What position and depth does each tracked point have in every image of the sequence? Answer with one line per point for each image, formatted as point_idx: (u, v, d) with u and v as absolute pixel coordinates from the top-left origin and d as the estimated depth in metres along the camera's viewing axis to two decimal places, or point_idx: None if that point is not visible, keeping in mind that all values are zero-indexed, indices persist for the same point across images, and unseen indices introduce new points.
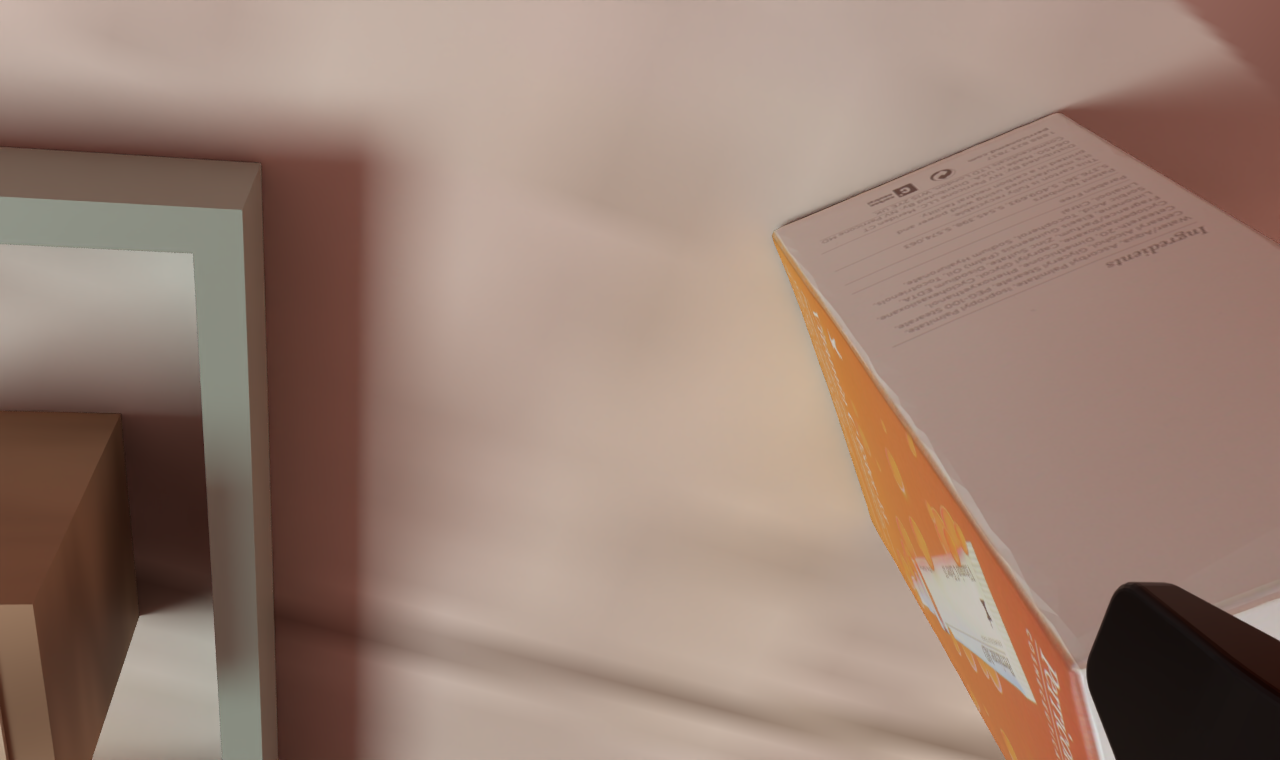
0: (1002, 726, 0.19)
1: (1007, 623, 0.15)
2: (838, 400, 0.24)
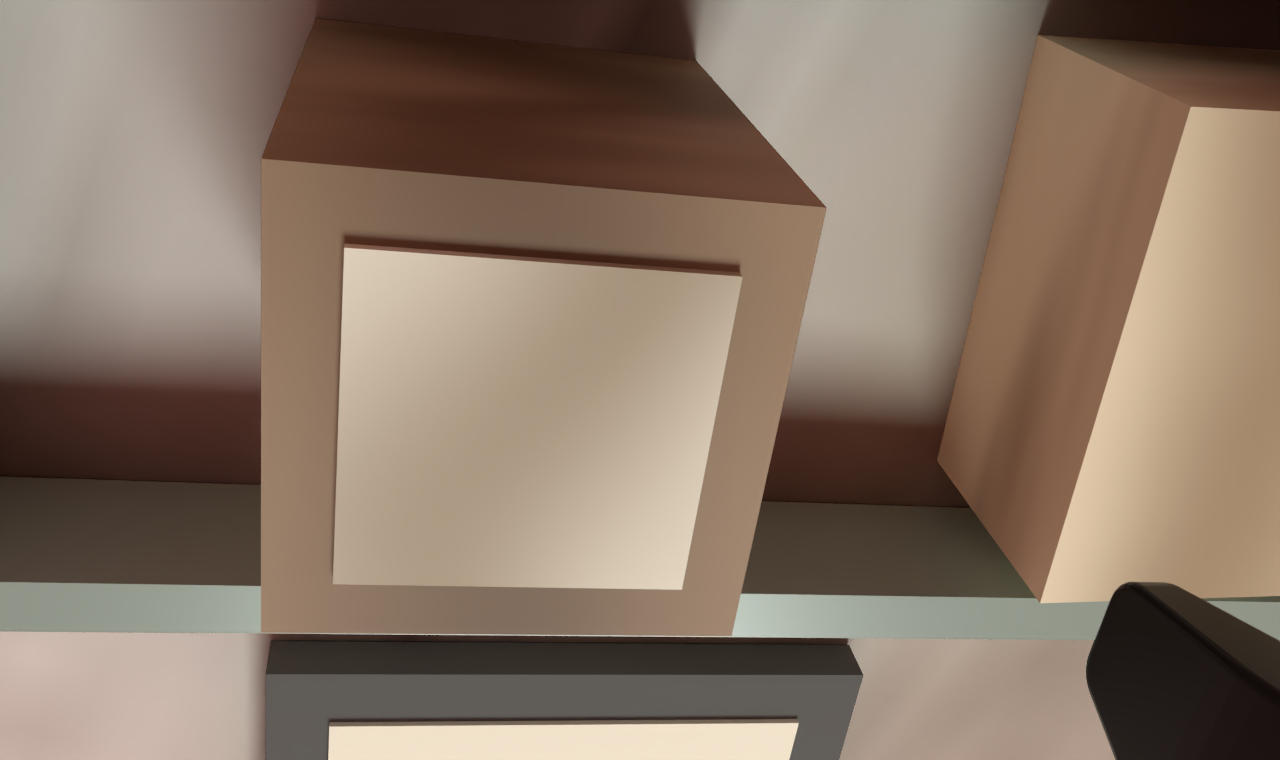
0: None
1: None
2: None
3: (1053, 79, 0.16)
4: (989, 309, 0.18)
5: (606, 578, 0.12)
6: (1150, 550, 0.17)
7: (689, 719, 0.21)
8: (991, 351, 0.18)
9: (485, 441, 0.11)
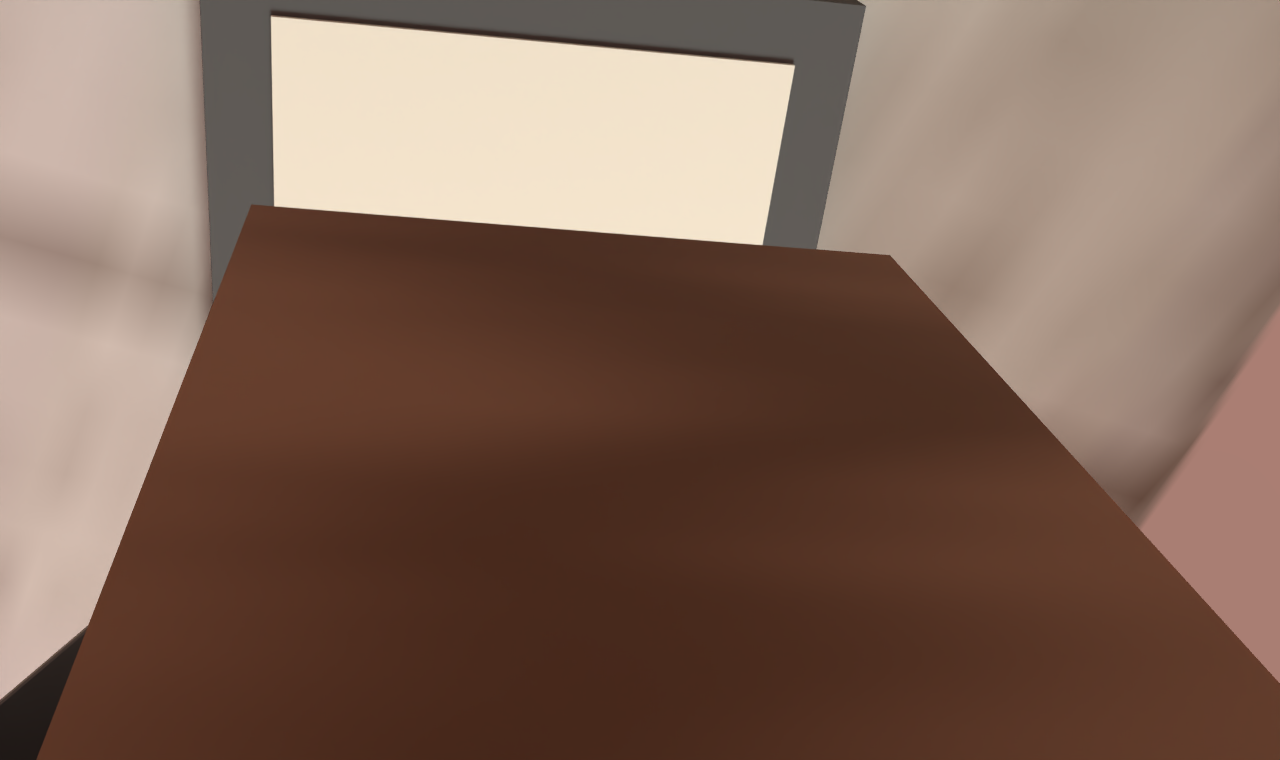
0: None
1: None
2: None
3: None
4: None
5: None
6: None
7: (672, 50, 0.19)
8: None
9: None
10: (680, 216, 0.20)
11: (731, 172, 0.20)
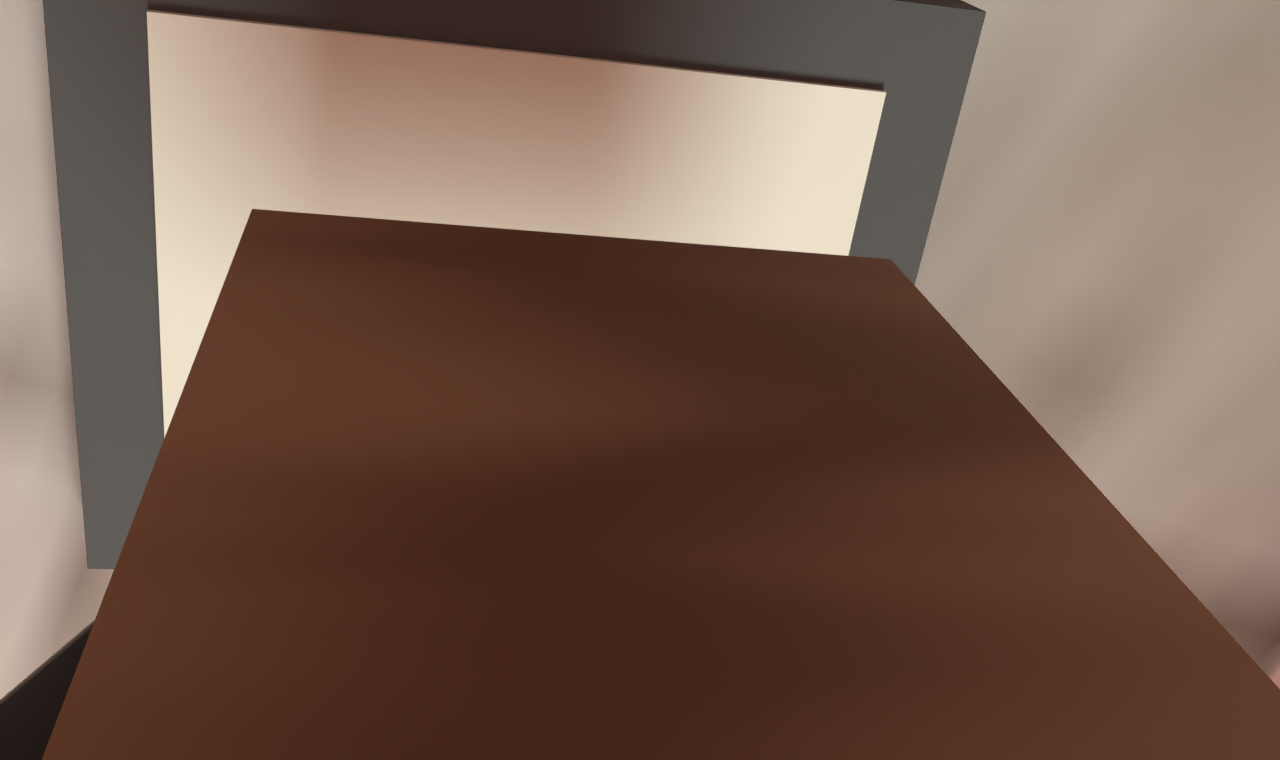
0: None
1: None
2: None
3: None
4: None
5: None
6: None
7: (719, 69, 0.13)
8: None
9: None
10: None
11: (793, 236, 0.14)
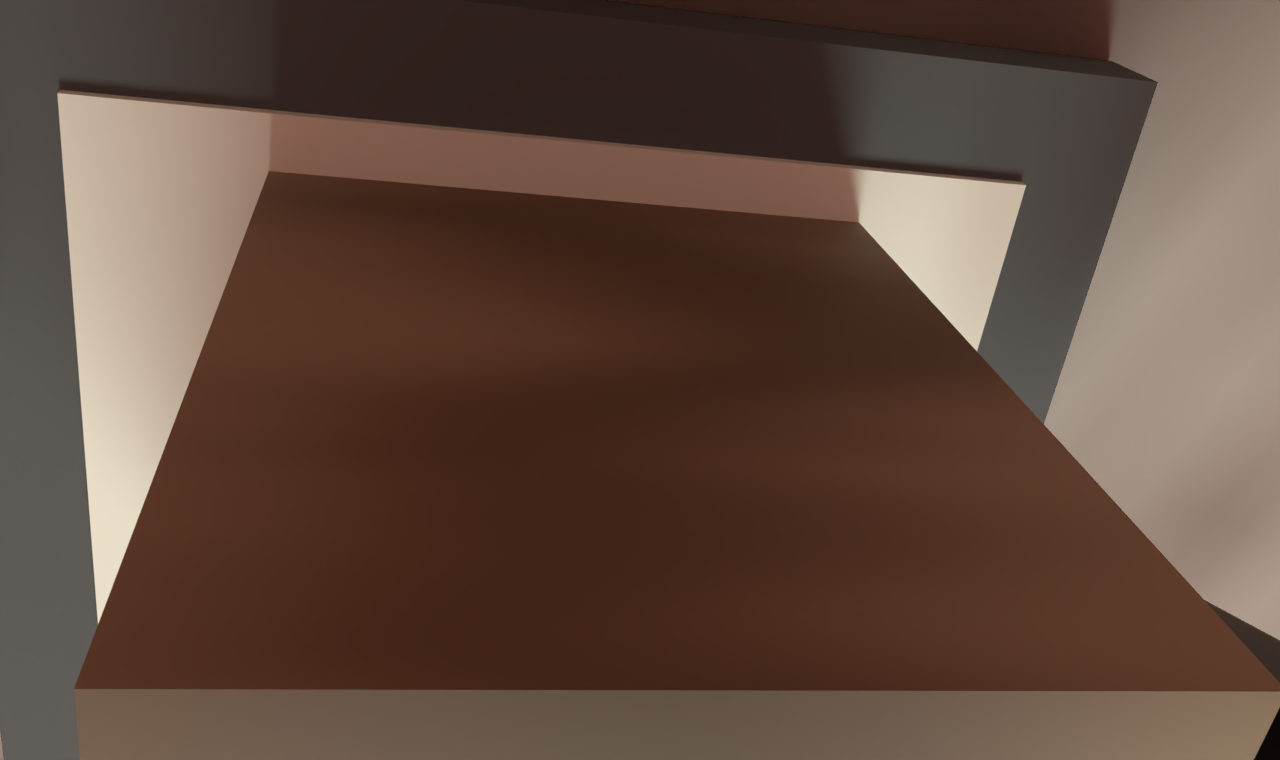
0: None
1: None
2: None
3: None
4: None
5: None
6: None
7: (814, 158, 0.10)
8: None
9: None
10: None
11: None
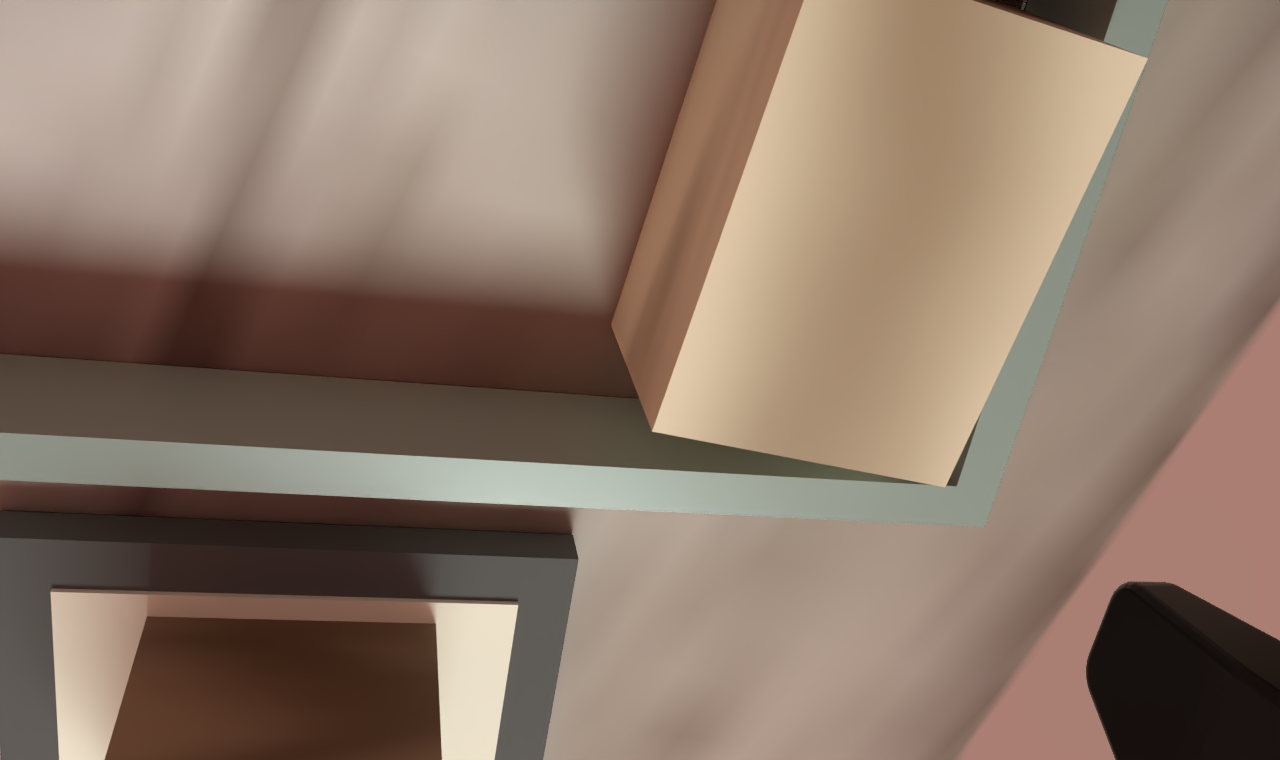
0: None
1: None
2: None
3: None
4: (669, 172, 0.19)
5: None
6: (759, 398, 0.18)
7: (410, 597, 0.22)
8: (663, 211, 0.19)
9: None
10: None
11: (467, 681, 0.23)
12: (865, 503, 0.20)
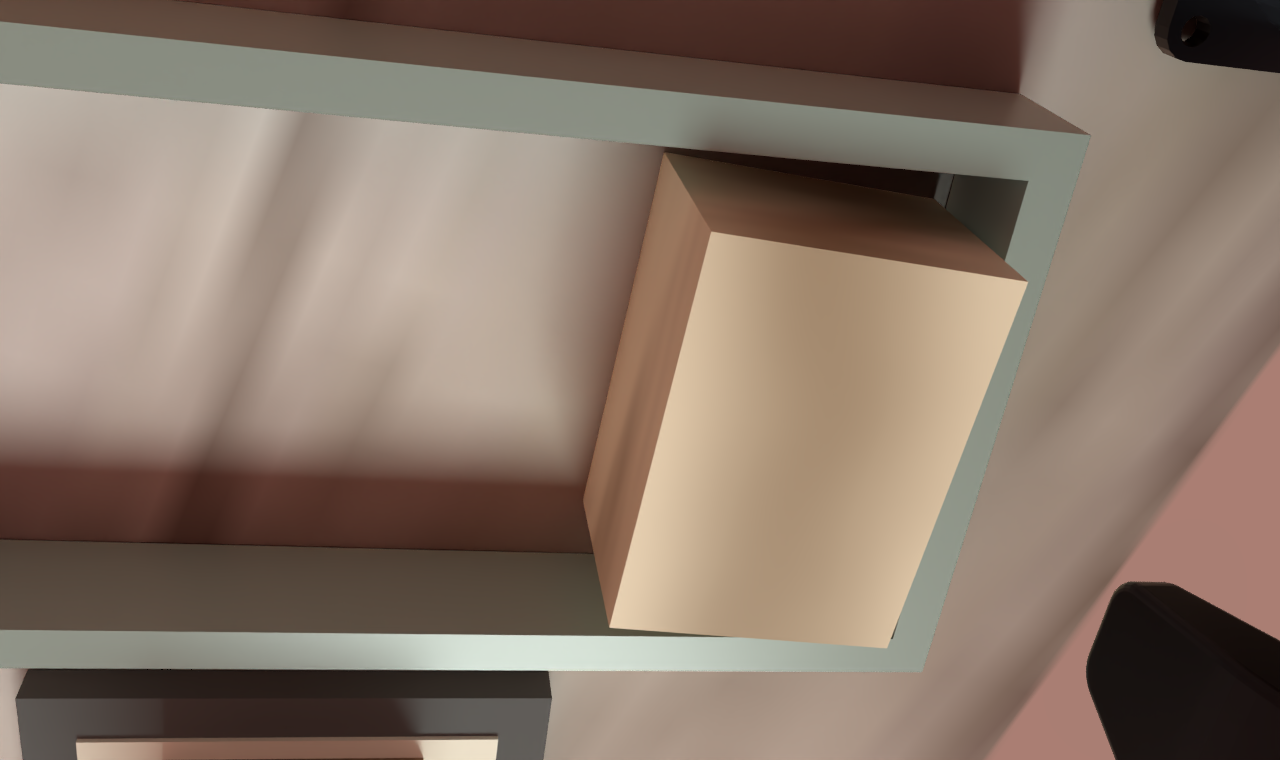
0: None
1: None
2: None
3: (664, 190, 0.20)
4: (618, 375, 0.21)
5: None
6: (703, 592, 0.20)
7: (399, 736, 0.24)
8: (615, 411, 0.21)
9: None
10: None
11: None
12: (808, 656, 0.22)
